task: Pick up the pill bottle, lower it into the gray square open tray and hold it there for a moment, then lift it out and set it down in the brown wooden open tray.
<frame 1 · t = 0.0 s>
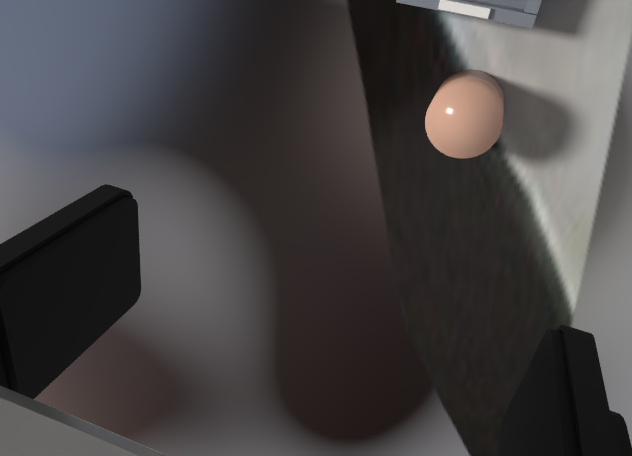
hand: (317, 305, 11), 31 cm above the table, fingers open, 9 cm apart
peach rounded capsule: (468, 103, 39), on the table
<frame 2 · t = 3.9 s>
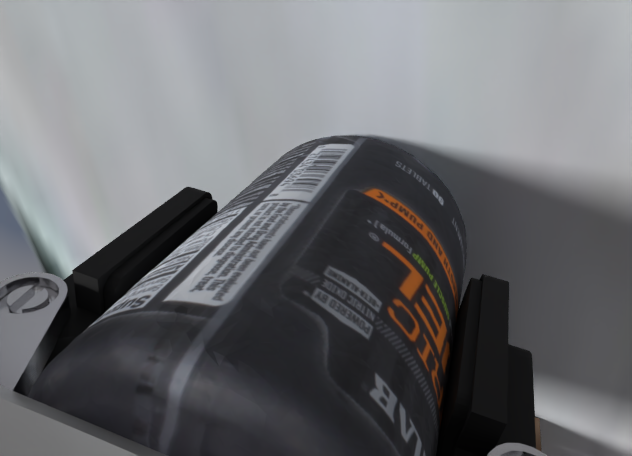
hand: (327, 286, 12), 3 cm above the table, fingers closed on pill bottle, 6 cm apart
pill bottle: (358, 231, 14), on the table, touching gripper
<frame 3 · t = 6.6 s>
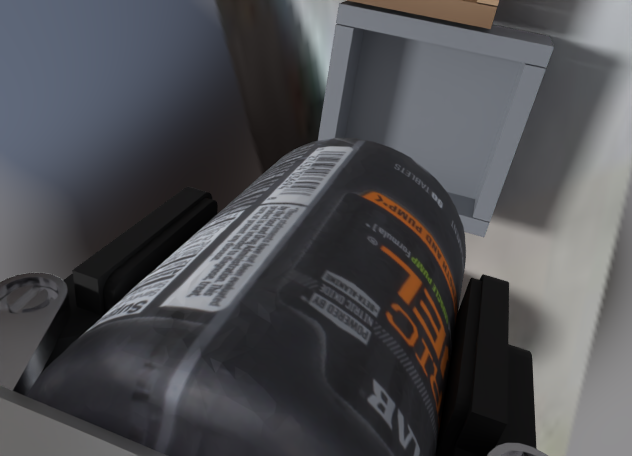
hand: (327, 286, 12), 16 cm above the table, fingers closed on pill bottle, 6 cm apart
gray square open tray: (425, 109, 26), on the table
pill bottle: (357, 233, 14), point 14 cm above the table, touching gripper
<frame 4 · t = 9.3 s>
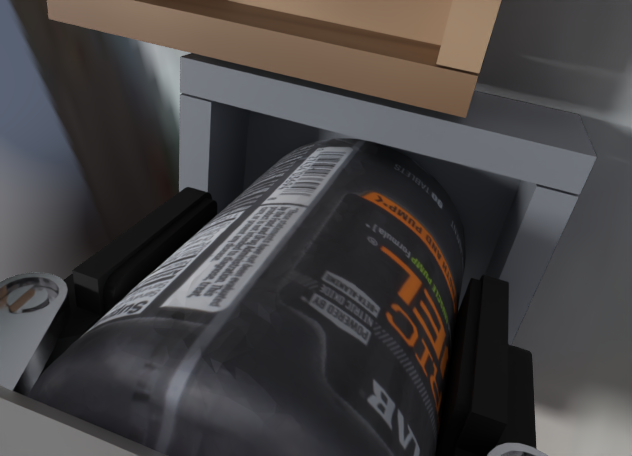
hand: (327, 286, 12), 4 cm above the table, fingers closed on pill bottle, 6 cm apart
gray square open tray: (364, 222, 15), on the table
pill bottle: (356, 234, 14), point 1 cm above the table, touching gripper
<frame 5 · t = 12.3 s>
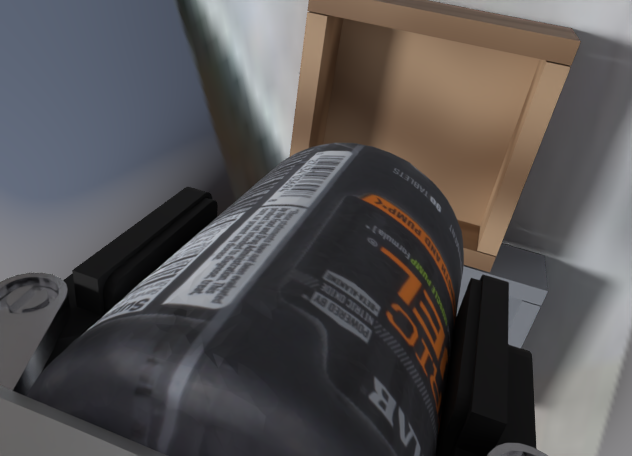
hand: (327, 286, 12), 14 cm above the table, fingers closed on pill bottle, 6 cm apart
brown wooden open tray: (418, 118, 23), on the table
gray square open tray: (429, 299, 28), on the table
pill bottle: (355, 238, 14), point 11 cm above the table, touching gripper
when the fingers open (4 cm above the table, at t = 14.7 s): pill bottle stays where it is, resting on brown wooden open tray.
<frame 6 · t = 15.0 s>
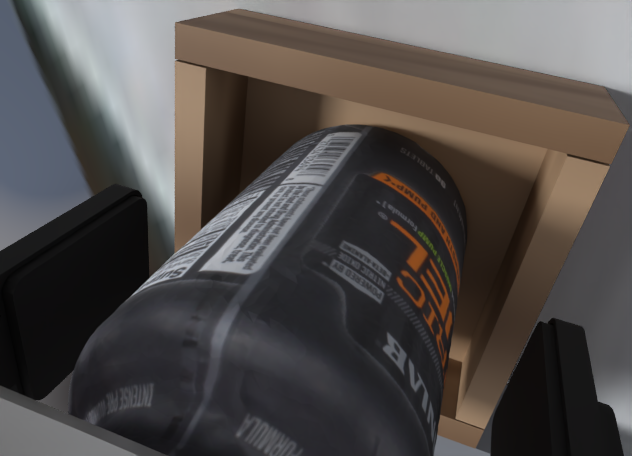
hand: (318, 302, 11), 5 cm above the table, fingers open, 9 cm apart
brown wooden open tray: (371, 206, 16), on the table
gray square open tray: (395, 438, 20), on the table
pill bottle: (364, 215, 15), point 1 cm above the table, touching brown wooden open tray
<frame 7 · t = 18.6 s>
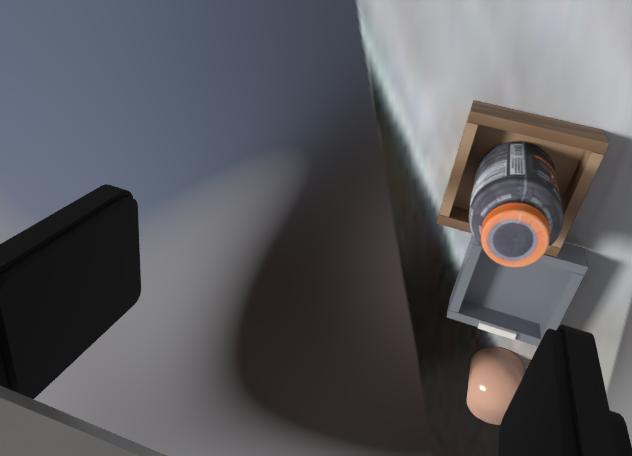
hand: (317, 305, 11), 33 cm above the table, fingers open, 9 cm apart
brown wooden open tray: (515, 171, 42), on the table
peach rounded capsule: (496, 367, 51), on the table
gray square open tray: (512, 275, 46), on the table
pill bottle: (514, 174, 41), point 1 cm above the table, touching brown wooden open tray
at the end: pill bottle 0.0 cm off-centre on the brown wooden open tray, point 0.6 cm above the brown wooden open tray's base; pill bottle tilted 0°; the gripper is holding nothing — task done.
